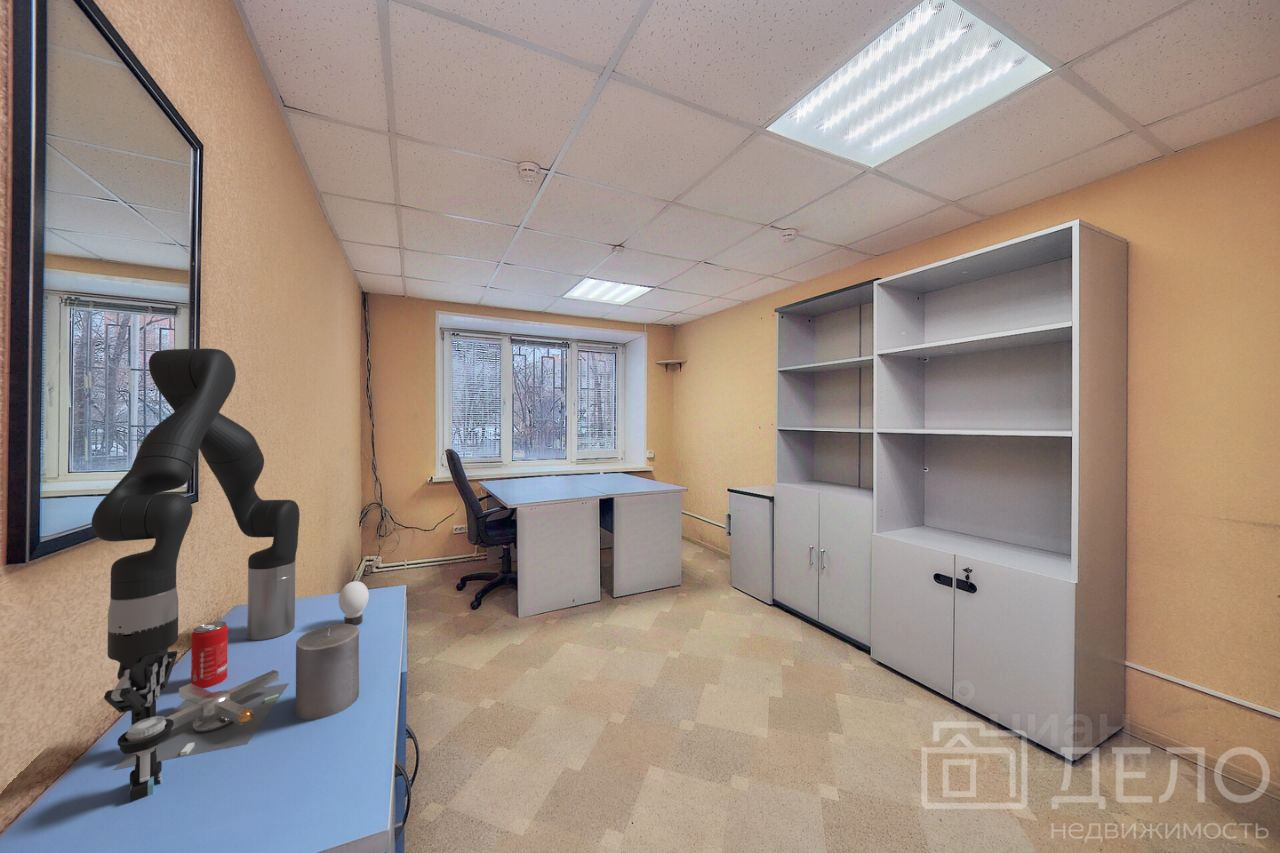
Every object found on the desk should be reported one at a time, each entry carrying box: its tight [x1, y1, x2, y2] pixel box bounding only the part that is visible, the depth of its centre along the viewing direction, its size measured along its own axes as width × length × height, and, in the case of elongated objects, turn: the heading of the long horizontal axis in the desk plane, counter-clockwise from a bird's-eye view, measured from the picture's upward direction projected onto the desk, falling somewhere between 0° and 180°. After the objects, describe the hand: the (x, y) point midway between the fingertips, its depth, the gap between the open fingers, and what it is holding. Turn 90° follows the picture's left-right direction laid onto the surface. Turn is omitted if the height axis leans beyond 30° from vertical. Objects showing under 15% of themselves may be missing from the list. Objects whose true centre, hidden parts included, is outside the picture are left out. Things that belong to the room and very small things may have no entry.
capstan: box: [164, 669, 280, 734], centre depth 77 cm, size 20×19×4 cm
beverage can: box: [190, 620, 229, 689], centre depth 89 cm, size 5×5×12 cm
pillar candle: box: [295, 623, 360, 721], centre depth 83 cm, size 10×10×15 cm
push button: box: [117, 715, 174, 803], centre depth 64 cm, size 7×5×10 cm
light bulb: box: [338, 580, 370, 626], centre depth 118 cm, size 7×7×11 cm
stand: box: [113, 682, 290, 771], centre depth 77 cm, size 18×16×2 cm
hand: (143, 727), depth 71 cm, fingers closed
